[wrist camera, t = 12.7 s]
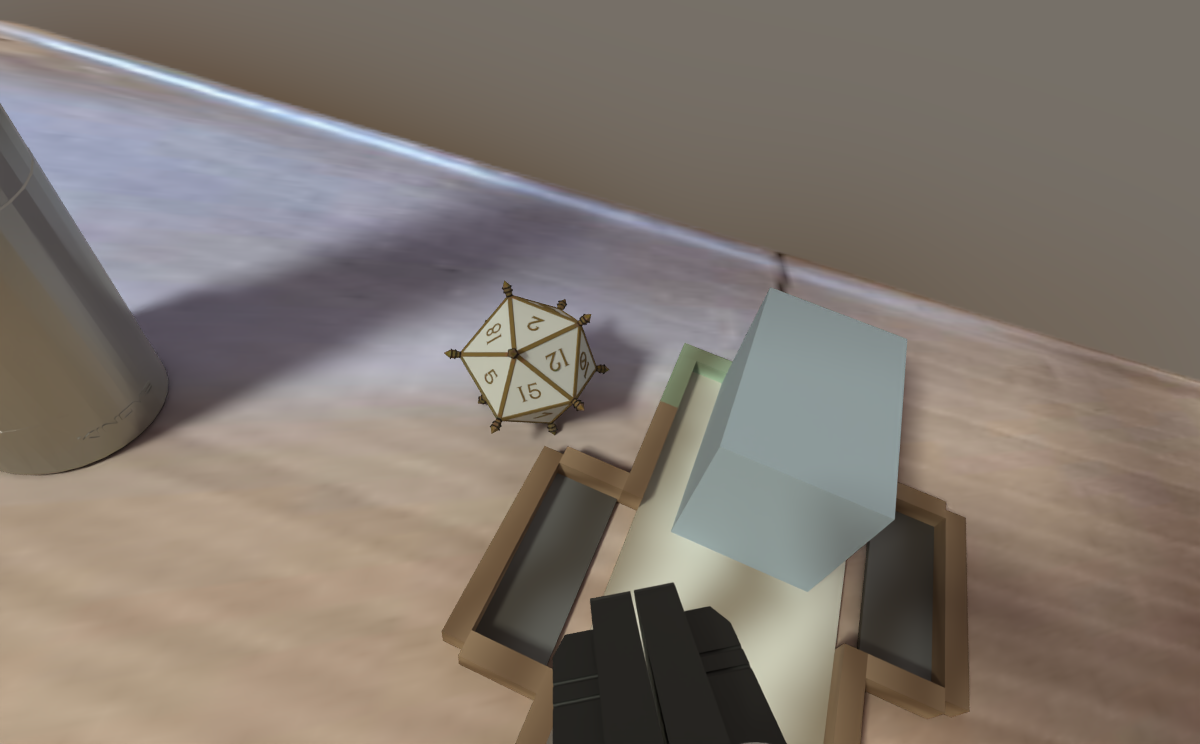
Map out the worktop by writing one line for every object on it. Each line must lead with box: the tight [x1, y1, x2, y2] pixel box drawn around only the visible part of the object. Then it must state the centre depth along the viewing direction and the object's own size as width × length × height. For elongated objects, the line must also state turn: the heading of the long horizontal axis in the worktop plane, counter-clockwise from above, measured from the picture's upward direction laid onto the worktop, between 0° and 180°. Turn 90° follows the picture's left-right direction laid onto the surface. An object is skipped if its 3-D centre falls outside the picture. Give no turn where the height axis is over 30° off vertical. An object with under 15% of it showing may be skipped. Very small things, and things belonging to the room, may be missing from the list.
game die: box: [444, 281, 609, 435], centre depth 36 cm, size 9×8×10 cm
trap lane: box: [442, 343, 970, 744], centre depth 32 cm, size 25×30×2 cm
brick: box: [671, 287, 907, 592], centre depth 34 cm, size 8×12×9 cm, turn 158°
